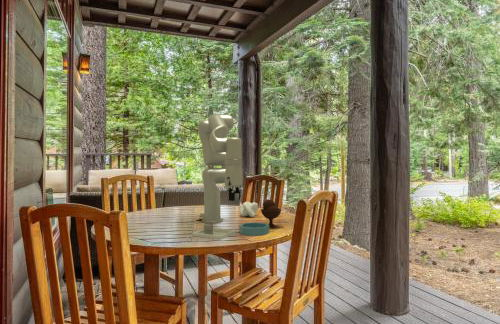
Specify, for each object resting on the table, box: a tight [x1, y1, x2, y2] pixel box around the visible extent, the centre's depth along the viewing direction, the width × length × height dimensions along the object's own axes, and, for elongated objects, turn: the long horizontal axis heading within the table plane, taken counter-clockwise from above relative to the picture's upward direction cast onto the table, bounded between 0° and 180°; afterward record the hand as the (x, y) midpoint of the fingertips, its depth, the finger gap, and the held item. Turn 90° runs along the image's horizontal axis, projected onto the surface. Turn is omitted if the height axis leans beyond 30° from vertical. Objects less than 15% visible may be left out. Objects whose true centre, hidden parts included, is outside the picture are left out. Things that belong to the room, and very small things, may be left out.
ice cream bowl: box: [260, 198, 282, 229], centre depth 193 cm, size 11×11×15 cm
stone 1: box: [203, 223, 214, 235], centre depth 175 cm, size 4×4×4 cm
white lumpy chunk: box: [239, 201, 259, 218], centre depth 228 cm, size 11×12×9 cm
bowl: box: [238, 221, 270, 237], centre depth 178 cm, size 14×14×4 cm
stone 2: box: [229, 193, 240, 204], centre depth 175 cm, size 4×4×4 cm
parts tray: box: [192, 227, 237, 240], centre depth 174 cm, size 16×14×2 cm
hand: (234, 199), depth 175 cm, fingers closed on stone 2, 4 cm apart
